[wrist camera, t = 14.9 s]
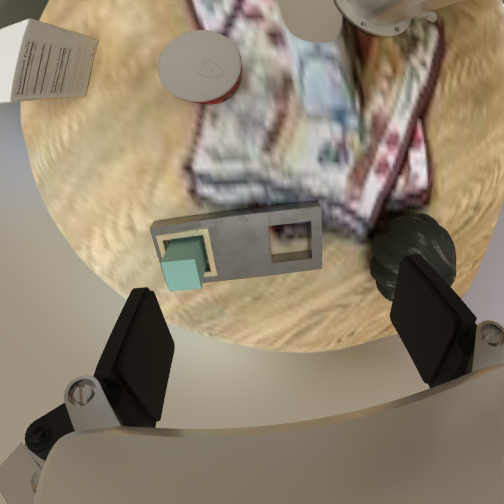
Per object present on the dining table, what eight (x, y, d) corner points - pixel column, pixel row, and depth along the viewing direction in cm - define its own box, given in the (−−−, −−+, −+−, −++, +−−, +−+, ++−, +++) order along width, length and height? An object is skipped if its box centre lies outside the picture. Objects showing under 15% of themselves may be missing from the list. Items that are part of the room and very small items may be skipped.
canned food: (237, 107, 33) (235, 105, 24) (177, 102, 33) (152, 101, 23) (245, 53, 30) (247, 32, 20) (184, 50, 29) (163, 29, 19)
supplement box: (41, 98, 29) (-36, 110, 15) (52, 44, 25) (-22, 35, 10) (87, 97, 31) (10, 103, 16) (100, 39, 27) (29, 16, 12)
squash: (361, 315, 44) (444, 337, 32) (348, 236, 37) (453, 250, 26) (394, 267, 51) (463, 280, 40) (385, 196, 45) (466, 202, 33)
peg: (202, 232, 42) (194, 259, 35) (207, 258, 44) (201, 288, 37) (173, 235, 42) (160, 262, 35) (179, 261, 44) (169, 291, 37)
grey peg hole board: (316, 200, 40) (321, 207, 37) (318, 260, 45) (322, 269, 42) (154, 221, 41) (149, 229, 38) (170, 277, 45) (167, 287, 43)
